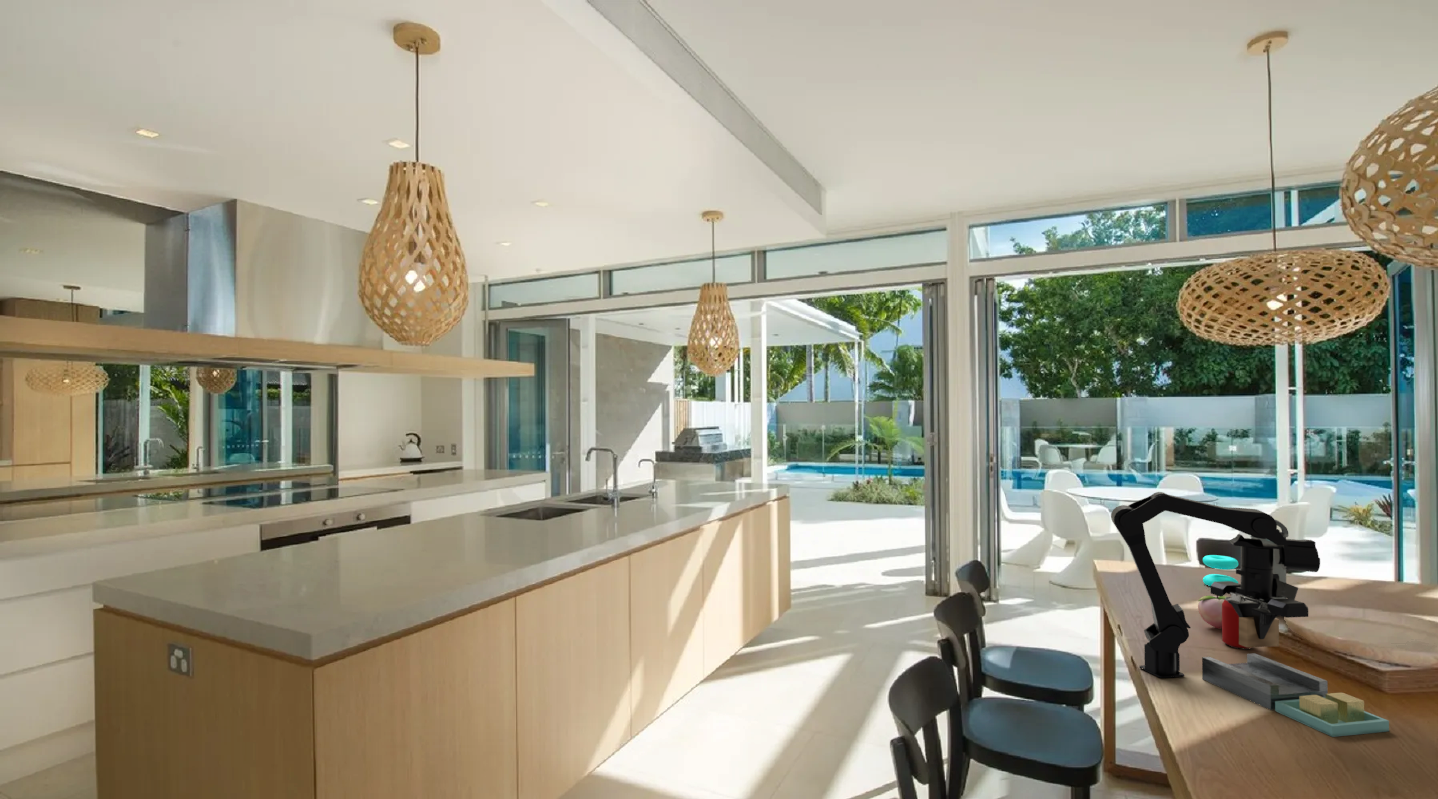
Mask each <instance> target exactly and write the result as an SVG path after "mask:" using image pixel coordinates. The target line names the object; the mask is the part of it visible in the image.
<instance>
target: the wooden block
mask: <svg viewBox="0 0 1438 799" xmlns="http://www.w3.org/2000/svg"><path fill="white" fill-rule="evenodd" d="M1239 645H1242V646H1244V647H1252V648H1265V647H1266V648H1267V647H1280V618H1278V617H1276V618H1275V619H1274V621H1273V622H1272V624H1271V626H1270V628H1269V630H1268V632H1267V634H1266V636H1265V638H1264V639H1259V638H1258V635H1257V632H1256V627H1255V622H1254V617H1239Z"/></svg>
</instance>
